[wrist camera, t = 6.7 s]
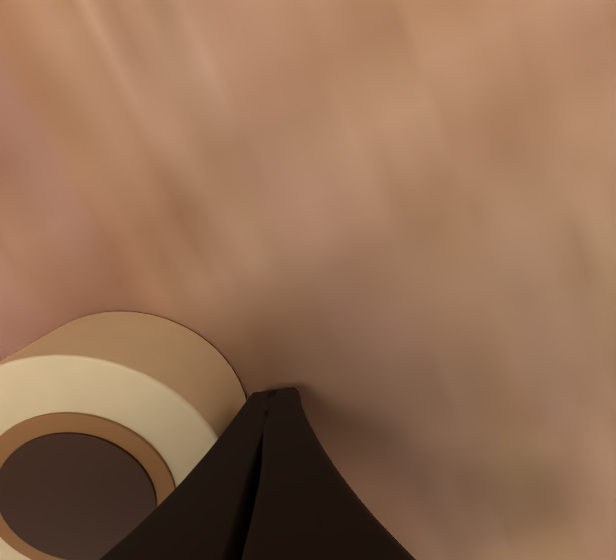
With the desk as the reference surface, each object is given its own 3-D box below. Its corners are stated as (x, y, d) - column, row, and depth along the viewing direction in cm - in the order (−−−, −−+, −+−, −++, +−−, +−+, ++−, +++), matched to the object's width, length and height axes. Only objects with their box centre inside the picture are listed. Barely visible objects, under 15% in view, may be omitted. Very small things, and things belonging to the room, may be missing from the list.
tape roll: (226, 295, 9) (198, 336, 7) (265, 495, 11) (256, 595, 8) (-20, 328, 9) (-148, 384, 7) (56, 524, 11) (-23, 633, 8)
